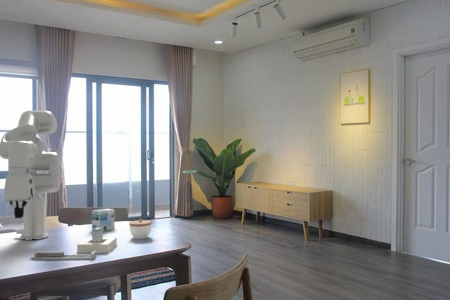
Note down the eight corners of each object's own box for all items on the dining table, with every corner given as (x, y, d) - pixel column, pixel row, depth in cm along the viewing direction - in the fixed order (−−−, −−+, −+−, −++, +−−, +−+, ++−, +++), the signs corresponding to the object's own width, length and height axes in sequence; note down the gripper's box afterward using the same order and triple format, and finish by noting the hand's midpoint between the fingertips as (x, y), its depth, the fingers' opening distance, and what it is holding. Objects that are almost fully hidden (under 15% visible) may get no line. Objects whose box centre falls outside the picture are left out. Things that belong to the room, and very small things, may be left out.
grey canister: (90, 250, 174) (90, 229, 174) (94, 247, 178) (94, 227, 178) (100, 250, 174) (100, 229, 174) (104, 247, 178) (104, 227, 178)
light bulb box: (99, 231, 213) (99, 211, 213) (91, 230, 216) (91, 210, 216) (115, 228, 222) (115, 208, 222) (106, 227, 226) (106, 208, 226)
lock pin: (34, 259, 160) (34, 253, 160) (36, 257, 162) (36, 251, 162) (61, 258, 160) (61, 252, 160) (63, 257, 162) (63, 251, 162)
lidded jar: (124, 239, 195) (124, 219, 195) (137, 234, 205) (137, 216, 205) (143, 241, 191) (143, 221, 191) (155, 236, 201) (155, 217, 201)
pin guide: (30, 259, 159) (30, 253, 159) (35, 257, 163) (35, 251, 163) (93, 259, 159) (92, 253, 159) (96, 256, 163) (96, 250, 163)
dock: (77, 252, 170) (77, 244, 170) (88, 245, 183) (88, 237, 183) (107, 252, 170) (107, 244, 170) (116, 245, 182) (116, 237, 182)
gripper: (41, 171, 165) (42, 216, 165) (5, 171, 165) (5, 216, 165) (32, 172, 157) (33, 219, 157) (-6, 172, 158) (-5, 219, 157)
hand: (19, 217), depth 161 cm, fingers closed
